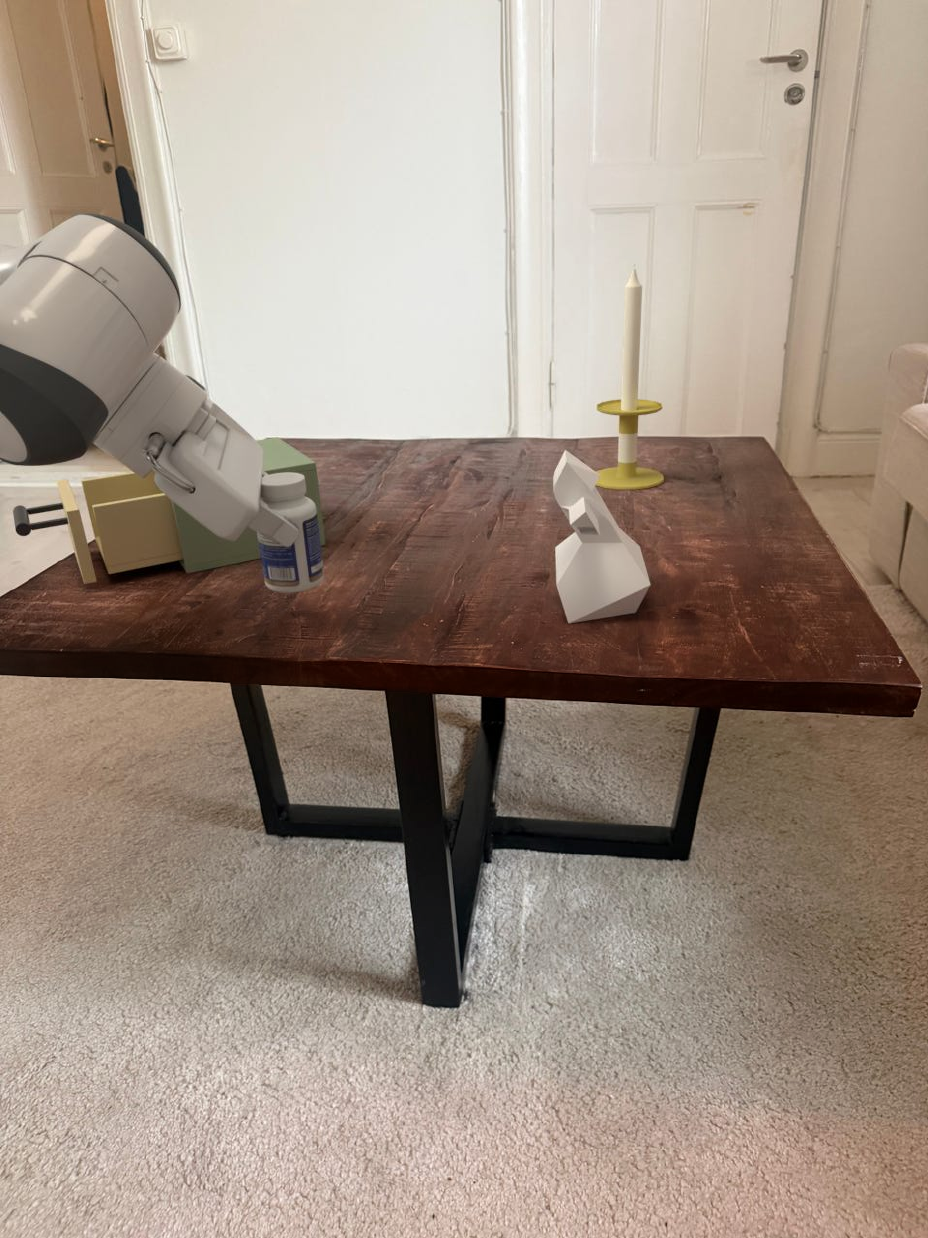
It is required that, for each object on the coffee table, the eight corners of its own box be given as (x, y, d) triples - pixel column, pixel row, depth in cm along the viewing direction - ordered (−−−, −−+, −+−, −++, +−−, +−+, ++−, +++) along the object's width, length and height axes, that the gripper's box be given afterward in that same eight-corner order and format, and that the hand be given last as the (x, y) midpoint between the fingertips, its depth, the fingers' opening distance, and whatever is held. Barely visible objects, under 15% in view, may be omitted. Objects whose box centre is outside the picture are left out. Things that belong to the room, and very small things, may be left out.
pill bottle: (309, 566, 82) (297, 466, 77) (334, 584, 77) (323, 479, 73) (255, 580, 79) (239, 477, 75) (278, 599, 75) (263, 491, 71)
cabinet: (186, 573, 92) (169, 486, 88) (162, 535, 104) (146, 456, 100) (325, 545, 98) (315, 462, 94) (288, 511, 110) (277, 437, 106)
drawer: (32, 595, 86) (11, 520, 83) (26, 554, 97) (7, 487, 94) (226, 555, 94) (214, 486, 91) (200, 522, 105) (188, 459, 101)
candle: (583, 471, 121) (586, 263, 110) (654, 467, 121) (664, 259, 110) (596, 491, 112) (600, 268, 101) (672, 487, 112) (686, 263, 101)
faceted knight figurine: (636, 568, 88) (641, 434, 82) (651, 629, 75) (659, 475, 69) (552, 569, 89) (552, 436, 83) (554, 629, 76) (553, 477, 70)
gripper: (165, 420, 60) (321, 538, 66) (193, 372, 79) (313, 468, 84) (113, 488, 62) (270, 598, 67) (152, 425, 80) (273, 516, 86)
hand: (294, 525), depth 76 cm, fingers closed on pill bottle, 5 cm apart
